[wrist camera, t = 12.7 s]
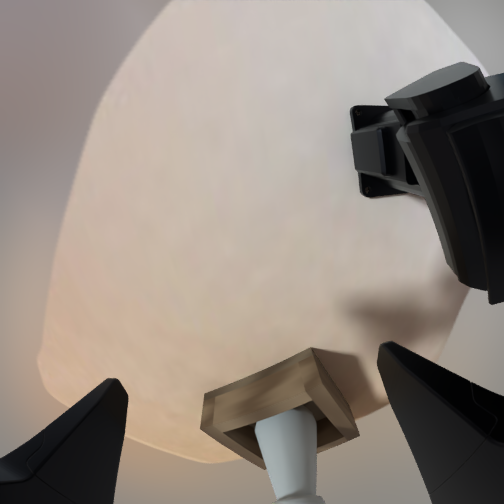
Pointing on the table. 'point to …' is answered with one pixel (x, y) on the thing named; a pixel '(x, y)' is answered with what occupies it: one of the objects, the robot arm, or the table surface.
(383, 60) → the table surface
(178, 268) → the table surface
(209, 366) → the table surface
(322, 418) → the socket block
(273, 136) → the table surface
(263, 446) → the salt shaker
